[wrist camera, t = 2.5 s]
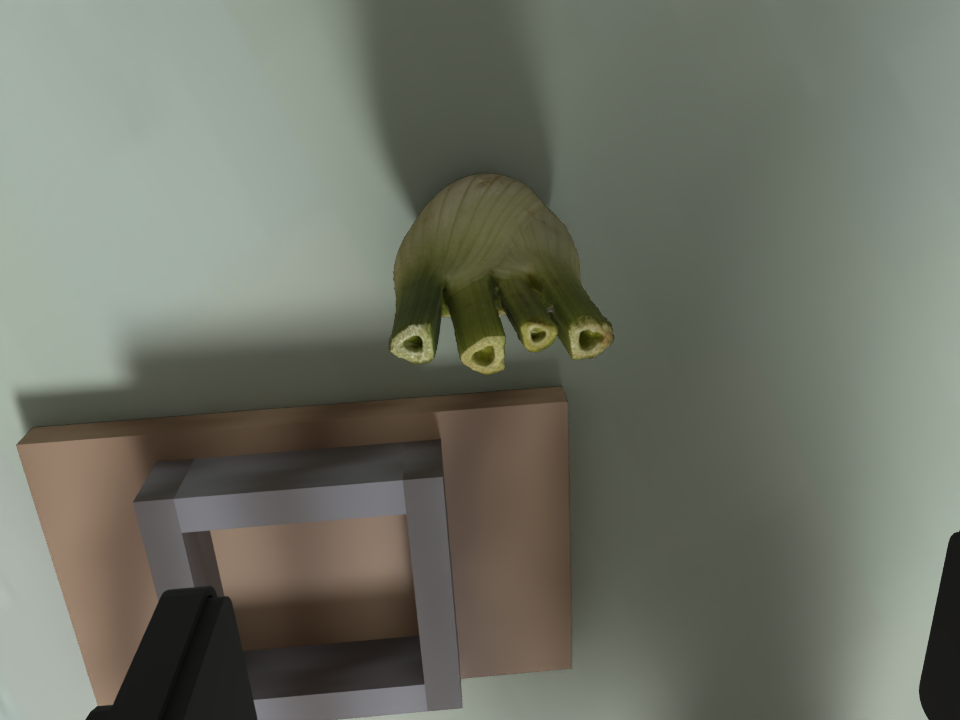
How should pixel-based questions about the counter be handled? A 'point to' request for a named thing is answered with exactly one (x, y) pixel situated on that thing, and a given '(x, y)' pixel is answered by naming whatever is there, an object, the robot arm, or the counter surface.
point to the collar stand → (323, 542)
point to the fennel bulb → (491, 277)
